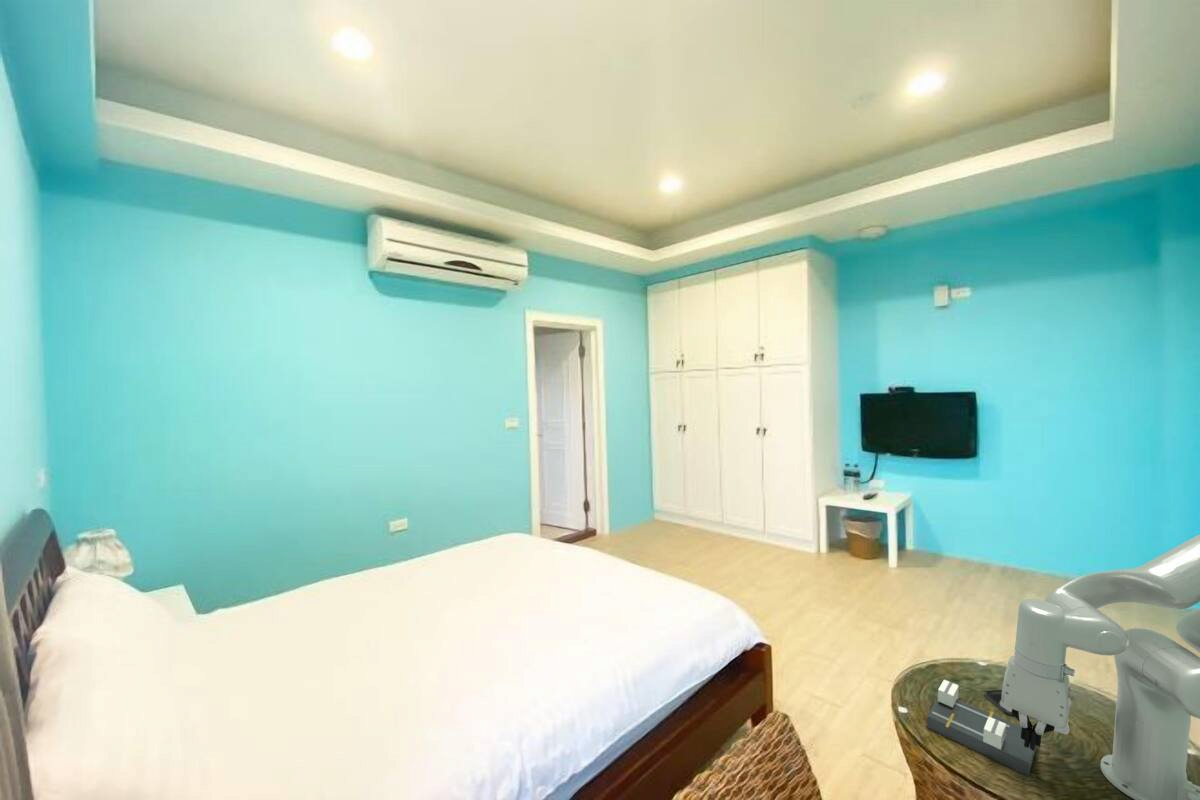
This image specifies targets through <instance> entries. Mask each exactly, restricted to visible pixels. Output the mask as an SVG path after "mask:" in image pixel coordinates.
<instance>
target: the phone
mask: <svg viewBox="0 0 1200 800" xmlns="http://www.w3.org/2000/svg"><path fill="white" fill-rule="evenodd" d="M983 696H984V697H985V698H986V699H987V700H988V701H989V702H990V703H991V704H993V705H994V706H995V707H996V708H998V709H999V710H1000V711H1001V712H1002V713H1004V715H1006V716H1008V717H1011V718H1013V717H1014V718H1016V717H1015V716H1014V715H1013V714H1012V712H1009V711H1008V710H1006V709H1005V708H1003V707H1001V706H1000V704H999V703H1000V701H1001V699H1002V689H994V690H985V691H984V693H983Z"/></svg>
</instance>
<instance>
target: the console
mask: <svg viewBox="0 0 1200 800" xmlns="http://www.w3.org/2000/svg"><path fill="white" fill-rule="evenodd" d="M994 713H995V712H994V711H991V710H990V712H988V711H985V710H983V709H981V708H978V707H976V706H973V705H972V704H970V703H967V702H964V701H961V700H960V699H957V700H956V702H955V704H954V706H953V708H952V707H950V706H948V705H946V704H943V703H941V702H939V701H938V697H937V698H936V700H935V701H934V703H933V705H932V707H931V709H929V712H928V713H927V716H926V728H927V729H929V730H931V731H933V732H935V733H938V734H939V735H942V736H943V737H945V738H948V739H950V740H952V741H953V742H956V743H957V744H960V745H962V746H965V748H966V747H967V748H969V749H971V750H972V751H975V752H977V753H979V754H981V755H983V756H985V757H988V758H989V759H992V760H994V761H996V762H998V763H1000V764H1002V765H1003V766H1006V767H1008V768H1010V769H1012V770H1015V771H1016V772H1019V773H1021V774H1023V775H1025V776H1027V777H1029V776H1030V773H1031V768H1032V765H1033V760H1034V759H1035V758H1034V757H1035V754H1036V750H1037V748H1038V746H1035V750H1034V751H1033V750H1031V749H1030V745H1029V748H1028V747H1024V741H1025V740H1023V739H1021V729H1022V726H1021V725H1020V724H1016V723H1015V722H1011V721H1009V720H1007V719H1004V718H1002V717H1000V716H997V715H995V714H994ZM988 717H991V718H994V719H997V720H999V721H1001V722H1003V723H1005V724H1006V737H1005V740H1004V742H1003V745H1002V748H1001V750H1000V749H998V748H996V747H994V746H992V745H990V744H987V743H985V742H983V735H984V727H985V725H986V722H987V720H988Z"/></svg>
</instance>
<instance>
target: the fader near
mask: <svg viewBox="0 0 1200 800" xmlns="http://www.w3.org/2000/svg"><path fill="white" fill-rule="evenodd" d="M1005 737H1006V724H1005V723H1003V722H1001V721H999V720H997V719H994V718H991V717H988V720H987V722H986V725H985V727H984V735H983V742H985V743H987V744H990V745H992V746H994V747H996V748H998V749H1000V750H1001V748H1002V745H1003V742H1004V740H1005Z"/></svg>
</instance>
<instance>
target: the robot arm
mask: <svg viewBox="0 0 1200 800" xmlns="http://www.w3.org/2000/svg"><path fill="white" fill-rule="evenodd" d="M1118 603H1120V604H1121V603H1135V604H1142V605H1151V606H1154V607H1155V606H1156V607H1162V608H1168V609H1173V610H1174V609H1175V610H1176V609H1177V610H1185V609H1189V608H1191V607H1193V606H1195V605H1197V604H1198V603H1200V534H1198V535H1196V536H1194V537H1192V538H1190V539H1188V540H1186V541H1184V542H1182V543H1181V544H1179V545H1177V546H1175V547H1174V548H1171V549H1170V550H1167V551H1166V552H1165V553H1163V554H1161V555H1159V556H1157V557H1155V558H1154V559H1151V560H1149V561H1147V562H1145V563H1143V564H1141V565H1140V566H1137V567H1134V568H1124V569H1123V568H1122V569H1114V570H1107V571H1106V570H1105V571H1100V572H1099V571H1098V572H1093V573H1088V574H1084V575H1081V576H1078V577H1076V578H1073V579H1071V580H1070V581H1068V582H1066V583H1064V584H1062V585H1061V586H1059V587H1057V588H1055V589H1054V590H1052V592H1050V593H1049V594H1048V595H1046V597H1045V599H1044V600H1042V599H1036V598H1027V599H1024V600H1022V601H1021V602H1020V603H1019V606H1018V611H1017V612H1018V613H1017V625H1016V633H1015V643H1014V644H1015V645H1014V654H1013V655H1010V657H1009V658H1008V661H1007V665H1006V669H1005V672H1004V676H1003V677H1004V678H1003V682H1002V688H1001V690H1002V699H1001V701H1000V703H999V704H1000V706H1001V707H1003V708H1005V709H1006V710H1008V711H1009V712H1012V714H1013V715H1014V716H1015V717H1014V718H1016V720H1017V721H1018V722H1019V726H1021V727H1022V729H1021V739H1023V740H1025V741H1024V747H1028V748H1029V745H1030V749H1031V750H1033V751H1034V750H1035V746H1037V747H1041V745H1042V735H1044V734H1046V733H1050V732H1056V733H1060V734H1064V735H1069V734H1070V726H1069V719H1070V715H1071V714H1070V713H1071V684H1070V679H1069V676H1071V677H1075V672H1076V670H1075V669H1073V668H1071V667H1070V666H1067V665H1068V664H1066V656H1067V648H1071V649H1075V650H1078V651H1083V652H1086V653H1090V654H1094V655H1099V656H1113V658H1114V662H1115V663H1114V664H1115V668H1116V674H1117V694H1116V704H1115V705H1116V706H1115V719H1114V728H1113V729H1114V731H1113V732H1114V733H1113V743H1112V744H1113V745H1112V754H1108V755H1107V754H1106V755H1104V756H1103V757H1101V760H1100V771H1101V773H1102V774H1103V776H1104V777H1105V778H1106V779H1107V780H1108V781H1109V782H1110V783H1111V784H1112V785H1113V786H1114V787H1115V788H1117V789H1118V790H1119V791H1120V792H1122V793H1123V794H1124V795H1126V796H1128V797H1130V798H1132V799H1133V800H1200V786H1198V785H1197V784H1194V783H1192V781H1190V780H1188V772H1186V771H1187V760H1188V750H1189V741H1190V740H1189V739H1190V732H1191V731H1190V730H1191V725H1192V724H1191V721H1192V717H1193V718H1195V719H1198V720H1200V656H1198V655H1197V654H1195V653H1194V652H1192V651H1191V650H1190V649H1188V648H1186V647H1184V646H1183V645H1181V644H1180V643H1178V642H1176V641H1175V640H1174V639H1173V638H1169V637H1168V636H1166V635H1164V634H1162V633H1159V632H1158V631H1154V630H1151V629H1147V628H1141V627H1140V628H1138V627H1136V628H1130V629H1126V630H1125V629H1124V628H1123V627H1122V626H1121V625H1120V624H1119V623H1118V622H1116V621H1115V620H1114V619H1113V618H1112V617H1111V618H1110V617H1109V616H1108V615H1107V614H1105V613H1104V612H1102V611H1101V610H1099V609H1100V608H1103V607H1105V606H1108V605H1112V604H1118ZM1176 633H1177V634H1178V636H1179V637H1180V638H1181V639H1182V641H1184V642H1185V643H1186V644H1187V645H1188V646H1190V647H1191V648H1192V649H1194V650H1196V651H1197V652H1198V653H1200V607H1198V608H1196V609H1193V610H1191V611H1190V612H1188V613H1186V614H1185V615H1183V616H1182V617H1180V618H1179V619H1178V620H1177V622H1176ZM1030 717H1031V718H1032V719H1035V720H1037V722H1036V723H1034V724H1032V721H1030Z"/></svg>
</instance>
